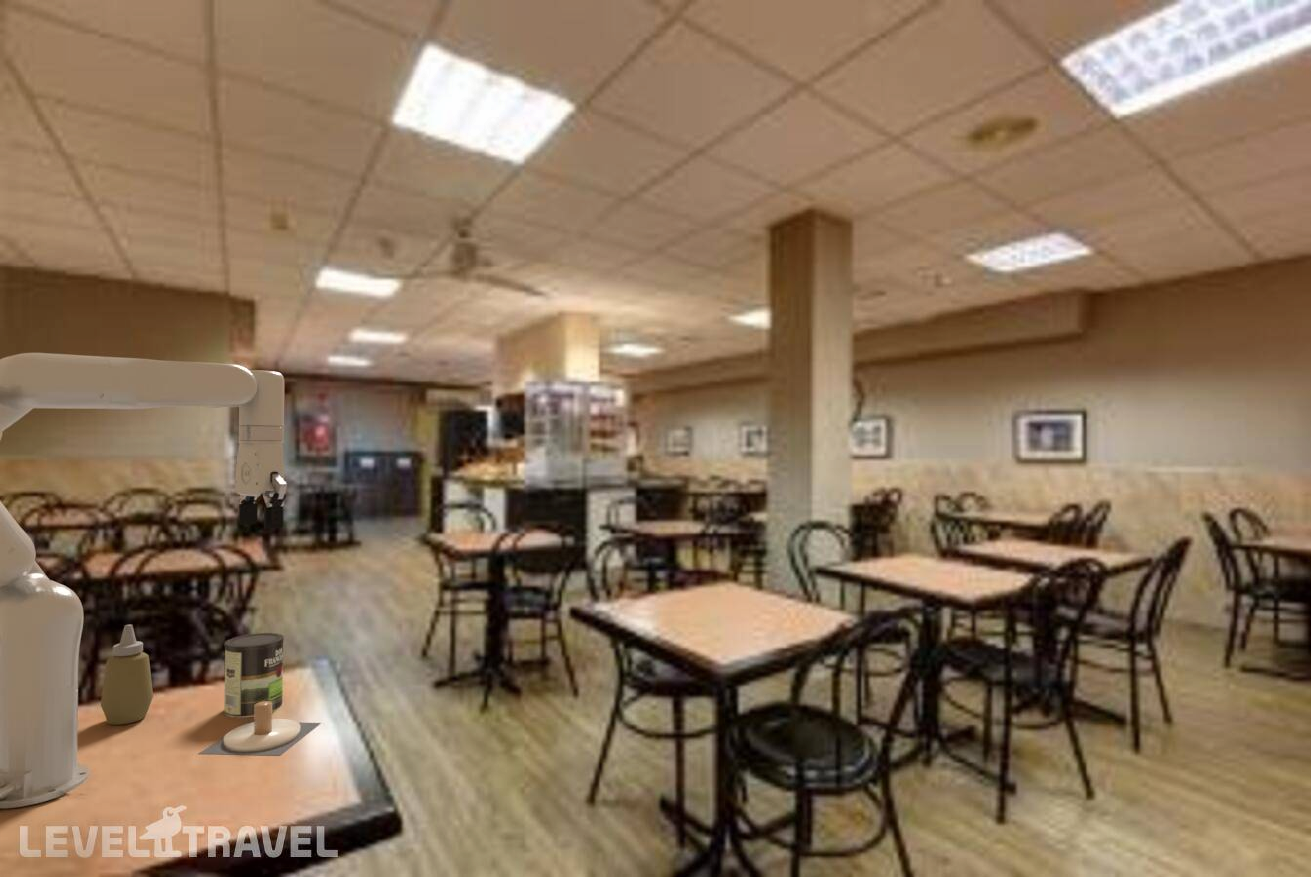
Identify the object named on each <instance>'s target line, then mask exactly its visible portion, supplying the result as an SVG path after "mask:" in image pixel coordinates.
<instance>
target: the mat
mask: <svg viewBox="0 0 1311 877" xmlns="http://www.w3.org/2000/svg"><path fill="white" fill-rule="evenodd" d="M252 722H254V720H253V721H250V720H248V721H246V722H245V723H243V724H241V725H240V726H242V725H245V724H248V723H252ZM297 722H298V721H297ZM298 723H299V724H300V735H299V736H298V737H297V738H296V739H294V740H293V741H291V742H289V743H287V744H284V745H282V746H279V747H275V748H272V749H267V750H262V751H254V752H236V751H231V750H228V749H226V748H225V747H224V736H223V737H221V738H220V739H219V740H217V741H215V742H214V743H212V744H211V745H210V746H208V747H206V748H205V749H203V750H202V751H200V752H199V753H198V755H227V756H229V755H230V756H260V757H261V756H263V757H264V756H265V757H266V756H267V757H269V756H270V757H271V756H272V757H273V756H274V757H280V756H283V754H284V753H286V752H287V751H288V750H289V749H291V748H292V747H294V745H296V744H297V743H298V742H299V741H301V740H302V739H304V738H305V736H307V735H308V734H309V733H311V732H312V731H313V730H315V729H316V728H317V727H319V726H320V725H321V723H322V722H298Z"/></svg>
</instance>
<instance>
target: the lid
mask: <svg viewBox="0 0 1311 877" xmlns="http://www.w3.org/2000/svg"><path fill="white" fill-rule="evenodd" d="M253 721H254V722H252V723H248V724H245V725H243V724H241V725H242V726H241V725H240V726H237V727H235V728H233V729H232V730H229V731H228V732H226V734H225V735H224V736H223V737H224V747H225V748H226V749H228V750H231V751H236V752H254V751H262V750H267V749H272V748H275V747H279V746H282V745H284V744H287V743H289V742H291V741H293V740H294V739H296V738H297V737H298V736H299V735H300V724H299V723H298V721H297V720H293V719H287V718H273V711H272V702H271V701H263V702H258V703H256V704H255V705H254V716H253Z"/></svg>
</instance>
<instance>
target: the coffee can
mask: <svg viewBox="0 0 1311 877" xmlns="http://www.w3.org/2000/svg"><path fill="white" fill-rule="evenodd" d="M284 641H285V636H284V635H283V634H280V633H273V632H260V633H258V632H257V633H251V634H244V635H240V636H235V637H232V638H230V639H228V640H225V642H224V650H225V652H224V715H226V716H228V717H231V718H250V717H254V705H255V704H256V703H258V702H263V701H271V702H272V712H275V711H277V710H278V709H280V708H281V707H283V694H284V692H283V687H284V685H283V684H284V682H283V679H284V678H283V677H284V675H283V674H284V671H283V670H284Z"/></svg>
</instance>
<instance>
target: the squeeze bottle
mask: <svg viewBox="0 0 1311 877" xmlns="http://www.w3.org/2000/svg"><path fill="white" fill-rule="evenodd" d="M149 656H150V655H149V654H147V653H146V652H144V643H143V641H139V640H138V641H137V638H136V635H135V630H134V626H133V624H125V625H124V627H123V630H122V634H121V638H120V642H119V643H117V644H114V645H113V646H112V656H111V657H110V658H108V659H107V660H106V663H105V669H104V670H105V671H104V679H103V684H102V685H103V686H102V692H101V699H100V700H101V701H100V707H101V709H102V711H103V715H104V716H105V719H106V721H107V723H108V724H109V725H114V726H116V725H126V724H131V723H135V722H136V723H137V722H138V721H141V720H143V719H145V718H146V716H147V714H148V711H149V709H150V706H151V704H152V700H153V698H154V693H153V692H154V691H153V683H152V682H153V681H152V673H151V666H150V665H151V664H150V657H149Z"/></svg>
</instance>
